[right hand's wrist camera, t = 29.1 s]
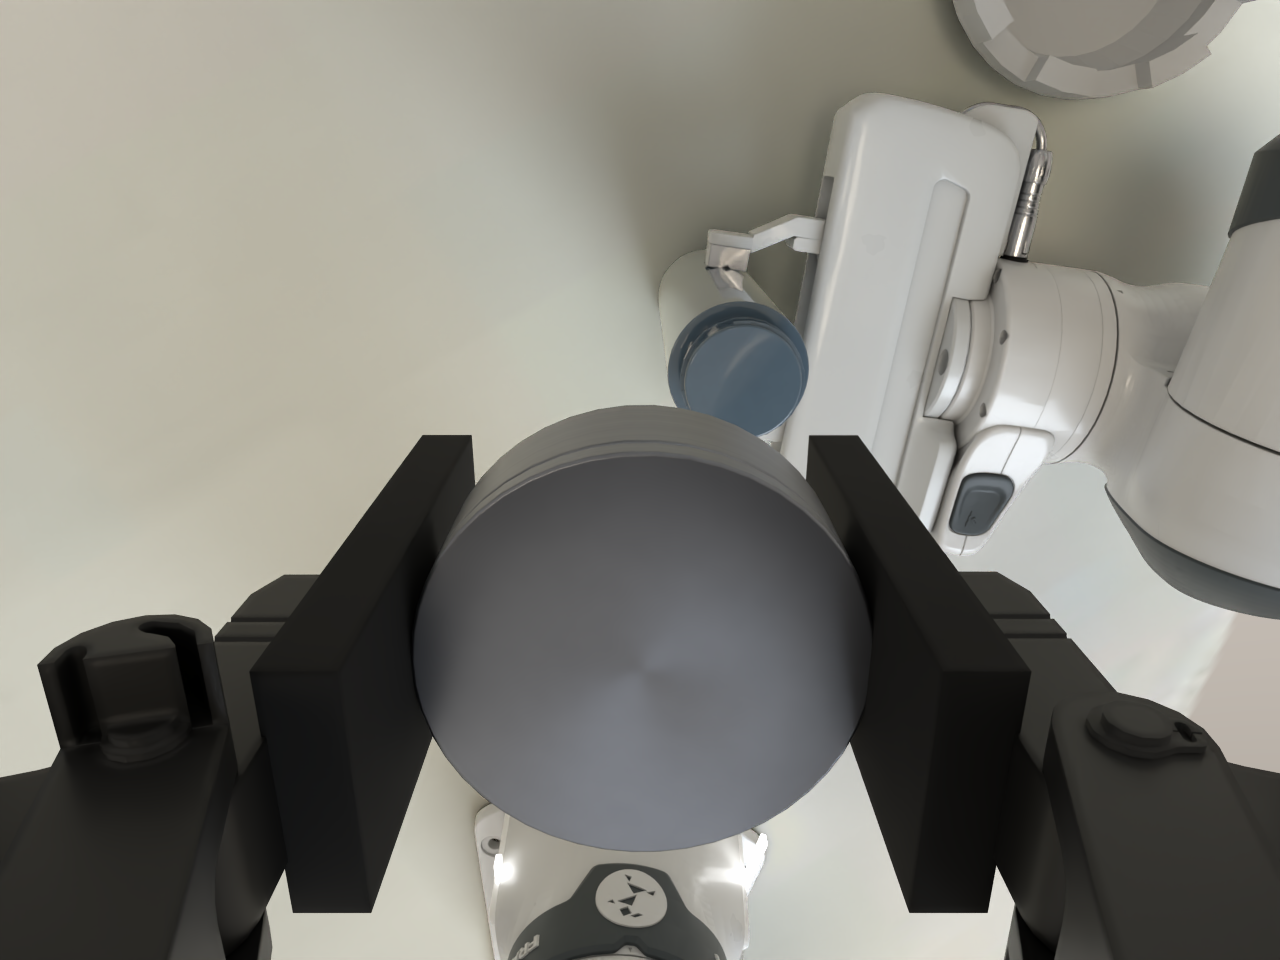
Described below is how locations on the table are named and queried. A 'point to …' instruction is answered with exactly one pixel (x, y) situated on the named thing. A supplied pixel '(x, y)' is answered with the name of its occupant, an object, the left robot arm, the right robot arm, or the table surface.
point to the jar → (729, 346)
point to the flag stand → (1092, 41)
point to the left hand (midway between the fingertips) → (695, 319)
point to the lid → (642, 632)
